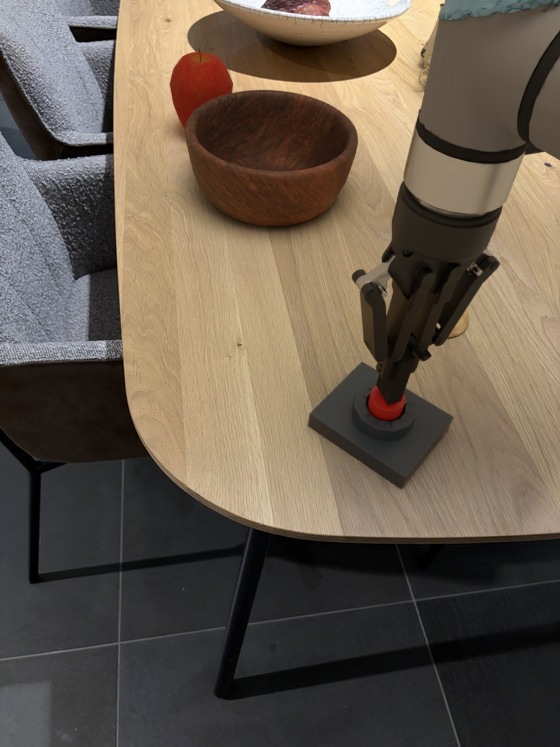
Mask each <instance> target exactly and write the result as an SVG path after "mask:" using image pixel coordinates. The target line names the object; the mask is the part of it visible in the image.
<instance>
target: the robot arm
mask: <svg viewBox="0 0 560 747" xmlns="http://www.w3.org/2000/svg"><path fill="white" fill-rule="evenodd" d="M443 4H444V6H443V8H442V9H441V10H439V12H438V15H437V19H438V18H439V22H438V27H437V32H436V37H435V42H434V47H433V52H432V57H431V62H430V66H429V71H428V73H427V77H426V82H425V83H426V85H424V86H425V87H424V92H423V97H422V101H421V106H420V108H419V109H418V112H417V113H418V115H417V117H416V121H415V123H414V128H413V132H412V135H411V142H410V144H409V149H408V154H407V157H406V162H405V166H404V170H403V177H402V179H403V180H402V182H401V183H400V186H399V189H398V193H397V196H396V202H395V205H394V209H393V214H392V218H391V241H390V243H389V244H388V246H387V247H386V249H385V250H383V253H382V255H381V260H380V261H381V263H380V264H378V265H376V266H375V267H374V268H372V269H371V270H370V271H368V272H366V270H364V269H363V268H360V269H356V270H355V271H354V272H353V273H352V274H351V280H352V281H353V283H354V285H355V286H356V288H357V289H358V290H359V299H360V300H359V301H360V312H361V313H360V314H361V325H362V326H361V328H362V337H363V338H362V339H363V344H364V345H365V346H366V348H367V349H368V351H369V353H370V354H371V356H372V357H373V359H374V360H375V362H376V365H375V370H377V372H378V374H379V376H378V380H377V383H376V386H377V388H378V389H379V391H380V393H381V394H382V396H383V398H384V399H385V401H386V402H387V404H388V405H390V404H393V403H397V402H400V401H401V400H402V397H403V394H404V391H405V388H407V385H408V383H409V379H410V377H411V374H414V373H415V372H416V370H417V369H418V366H419V364H420V362H426V361H428V360H429V359H430V358H431V357H432V354H431V352H430V351H429V347H430V346H432V345H434V346H435V347H441V346H443V345H444V344H445V343H446V341H447V340H448V337H449V335H450V334H451V332H452V331H453V329H454V327H455V326H456V324H457V323H458V321H459V320H460V318H461V317H462V315H463V313H464V312H465V310H467V309H468V307H469V306H470V304H471V303H472V301H473V299H474V298H475V297H476V294H478V292H479V290H480V288H481V287H482V286H483V284H484V283H485V282H486V281H487V280H488V279H489V278H490V277H492V275H493V274H494V273H495V271H497V270H498V269H499V267H500V266H501V262H500V261H499V259H498V258H496V256H495V255H494V254H493V253H492V252H491V251H490V250H489V249H488V247H489V244H490V243H491V242H490V241H491V239H492V237H493V234H494V232H495V230H496V228H497V225H498V222H499V219H500V217H501V215H502V212H503V205H504V204H505V203H507V200H508V199H509V196H510V193H511V190H512V189H513V185H514V182H515V180H516V177H517V175H518V172H519V169H520V167H521V165H522V162H523V160H524V157H525V155H524V154H525V152H526V149H527V147H528V144H530V145H531V146H533V147H536V148H539V149H541V150H542V151H544V152H543V153H546V154H548V155H550V156H551V157H554V158H555V159H557V160H558V161H560V0H444V2H443ZM495 227H496V228H495ZM390 279H391V289H392V294H391V298H390V301H389V305H388V307H387V304H386V299H385V298H386V297H387V296H388V294H389V293H388V291H387V289H388V281H389V280H390ZM387 308H388V309H387ZM437 323H438V324H439V325H440V326H441V327H440V328H438V327H437V326H436V325H437Z"/></svg>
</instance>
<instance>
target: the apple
mask: <svg viewBox="0 0 560 747" xmlns="http://www.w3.org/2000/svg"><path fill="white" fill-rule="evenodd" d="M169 89H170V95H171V100H172V105H173V108H174V110H175V113H176V115H177V117H178V120H179V122H180V124H181V126H182V127H183V129H186V124H187V121H188V119H189V117H190V115H191V114H192V113H193V112H194V111H195V110H196V109H197V108H198V107H199V106H201V105H202V104H204V103H206V102H207V101H209V100H212V99H214V98H216V97H219V96H222V95H226V94H229V93H233V92H234V91H233V90H234V82H233V79H232V77H231V75H230V72H229V70H228V68H227V66H226V65H225V63H224V62H223V61H222V60H221V58H220V57H219V56H216V55H214V54H211V53H207V52H202V51H201V49H200V47H199V48H198V51H192V52H189V53H186V54H184V55H182V56H181V57H180V58H179V60H178V61H177V63H176V64H175V65H174V67H173V69H172V72H171V75H170V80H169Z"/></svg>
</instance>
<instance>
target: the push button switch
mask: <svg viewBox="0 0 560 747" xmlns="http://www.w3.org/2000/svg"><path fill="white" fill-rule="evenodd" d="M378 376H379V374H378V372H377V370H376V368H374V367H372V366H370V365H369V364H367V363H366V362H364V361H361V362H359V364H357V365H356V367H355V368H353V370H352V371H351V372H350V373H348V375H347V376H345V378H344V379H343V380H341V382H339V384H338V385H336V386H335V387H334V389H333V390H331V392H330V393H329V394H328V395H326V396H325V397H324V398H323V399H322V400H321V401H320V403H319V404H318V405H316V407H314V409H312V410H311V411H310V412H309V415H308V422H307V426H308V427H309V428H311V429H312V430H314V431H315V432H317V433H318V434H320V435H322V436H323V437H324V438H326V439H327V440H329V441H330V442H332V443H333V444H334V445H336V446H338V447H339V448H340V449H341V450H343V451H345V452H346V453H347V454H349V455H351V456H352V457H354V458H355V459H356V460H358V461H359V462H361V463H362V464H364V465H365V466H367V467H368V468H369V469H371V470H373V471H374V472H375V473H377V474H379V475H380V476H381V477H384V479H386V480H387V481H388V482H390V483H391V484H393V485H395V486H396V487H398V488H399V489H401V490H402V489H403V488H404V487H405V486H406V484H408V482H409V480H410V479H411V478H412V476H413V475H414V474H415V473H416V471H417V470H418V469H419V468H420V466H422V464H423V462H424V461H425V460H426V459H427V458H428V456H429V454H430V453H431V452H432V451H433V449H435V447H436V446H437V445H438V444H439V442H440V441H441V440H442V438H443V437H444V436H445V434H446V433H447V431H448V430H449V429H450V427H451V424H452V423H453V420H454V418H455V417H454V416H453V415H451V414H449V413H448V412H447V411H444V410H443V409H441V408H440V407H438V406H436V405H434V403H431V402H430V401H428V400H426V399H425V398H423V397H421V396H419V394H417V393H415V392H414V391H411V390H410V389H408V388H407V387H406V388H405V391H404V395H405V404H404V407H403V410H402V413H401V415H400V416H399V417H398V418H397V419H395V420H391V421H384V420H380V419H378V418H376V417H374V416H373V415H372V414H371V413H370V411H369V409H368V401H369V397H370V394H371V391H372V389H373V388H374V387H375V386H376V383H377V380H378Z"/></svg>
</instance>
